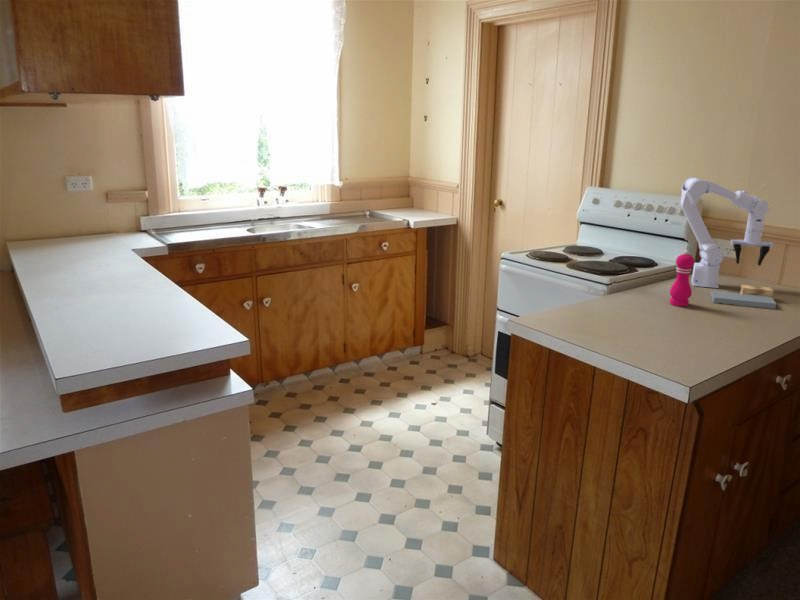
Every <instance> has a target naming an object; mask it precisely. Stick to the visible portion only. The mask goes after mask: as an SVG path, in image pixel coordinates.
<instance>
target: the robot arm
mask: <svg viewBox="0 0 800 600" xmlns="http://www.w3.org/2000/svg"><path fill="white" fill-rule="evenodd" d="M712 193H713V194H716V195H719V196H720V197H723V198H726V199H728V200H730V203H731V205H733V206H735V207H738V208H741V209H743V210H744V211H748V217H747V221H746V222H747V223H746V227H745V233H744V239H731V240H730V245H731V246H733V249H734V252H735V259H736V260H735V263H736V264H738V265H739V264H740V257H741V252H742V247H743V246H744V247H745V246H746V247H758V248H760V250H759V257H758V259H757V265H758V266H760V267H761V264H762V262H763V261H764V259H765V257H767V256H766V255H767V254H768V253H769V252H770V249H773V248H774V242H772V241H771V242H770V241H764V240H763V241H762V235H763V230H764V224H765V218H766V214H768V213H769V211H770V209H771V208H770V207H769V204H768V202H767V201H766V200H763V199H760V198H759V196H757V195H751V194H749V193H748V191H746V190H742V191H741V190H737V191H733V190H730V189H729V188H726V187H724V186H722V185H721V184H718V183H716V182H713V181H709V180H705V179H702V178H698V177H695V176H693V177H692V176H691V177H688V178H687V179H686V180H685V181H684V182H683V185H682V186H681V195H680V207H681V209H682V212H683V213H684V216H685V218H686V220H687V222H688V224H689V226H690V228H691V230H692V232H693V235H694V237H695V238H696V241H697V243H698V248H699V256H700V258H701V259H700V261H699V262H694V265H693V266H692V267H693V268H692V274H691V285H692V286H693V287H704V288H705V287H706V288H714V289H718V288H719V285H718V278H719V272H720V267H721V263H722V262H723V261H724V257H725V256H724V252H722V250H720V249H719V248H718V246H717V245H716V243H715V242H714V240H713V239H712V236H711V234H710V233H709V231H708V228H707V226H706V223H705V222H704V220H703V218H702V216H701V214H700V211H699V209H698V207H697V203H698V202H699V199H700V198H702V197H703V196H704V195H705V194H707V195H709V194H712Z"/></svg>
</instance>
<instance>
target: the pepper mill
mask: <svg viewBox="0 0 800 600" xmlns="http://www.w3.org/2000/svg"><path fill="white" fill-rule="evenodd" d="M694 263H695V258H694V257H693V256H692V254H691V255H690V251H689V250H687V249H685V250H684V251H683V254H680V255H678V257H676V259H675V264H676V270H675V272H676V278H675V281H674V282H673V284H672V285H671V287H670V289H669V295H670V296H671V297H670V299H669V304H670V305H671V304H672V305H671V306H674V305H675V307H679V306H686V307H688V306H689V303H690V301H689V299H690V298H691V296H692V288H691V284H690V280H689V279H690V274H691V273H692V271H693V268H692V267H694Z"/></svg>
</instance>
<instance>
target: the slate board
mask: <svg viewBox="0 0 800 600" xmlns="http://www.w3.org/2000/svg"><path fill="white" fill-rule="evenodd" d="M711 297H712V298H711ZM710 298H711V301H712V302H713V304H719V303H723V304H722V305H729V304H733V305H732V306H739V305H740V307H741V306H742V307H750V308H751V307H752V308H761V309H771V310H776V309H777V308H776V307H777V302H776V301H775V300H774V298H772V297H771V296H760V295H750V294H740V292H739V293H736V292H728V291H727V292H726V291H719V290H718V291H717V290H711V291H710Z"/></svg>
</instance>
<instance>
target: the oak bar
mask: <svg viewBox="0 0 800 600" xmlns="http://www.w3.org/2000/svg"><path fill="white" fill-rule="evenodd" d="M774 292H775V290H774V289H773V287H769V286H757V285H749V284H748V285H747V284H741V285H740V292H739V294H750V295H760V296H771V297H772V298H773V297H774ZM773 299H774V298H773Z"/></svg>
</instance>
